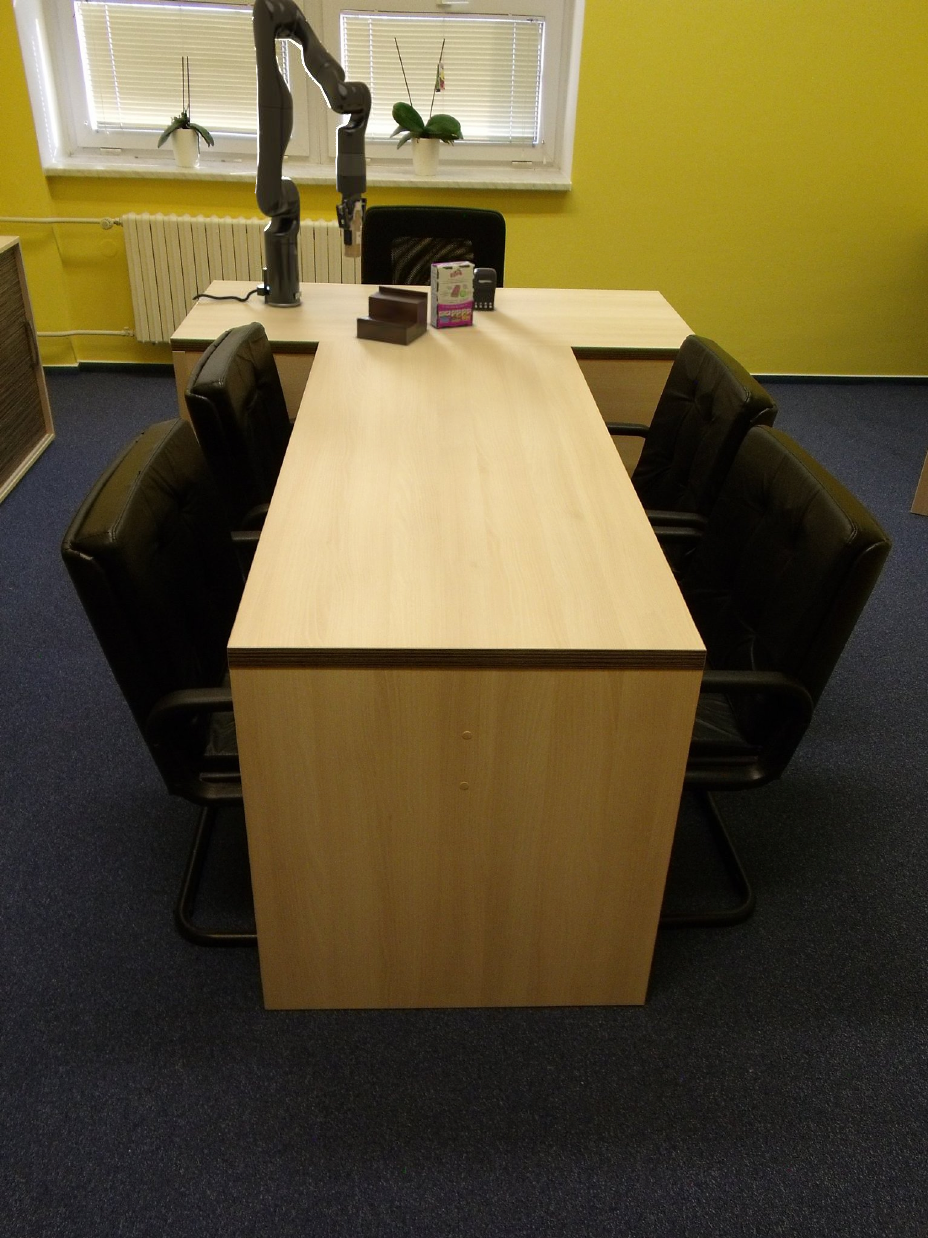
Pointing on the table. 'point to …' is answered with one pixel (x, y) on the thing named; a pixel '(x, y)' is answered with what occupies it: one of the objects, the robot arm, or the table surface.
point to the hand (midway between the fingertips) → (352, 242)
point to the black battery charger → (484, 289)
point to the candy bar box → (452, 294)
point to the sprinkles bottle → (355, 236)
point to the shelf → (394, 316)
